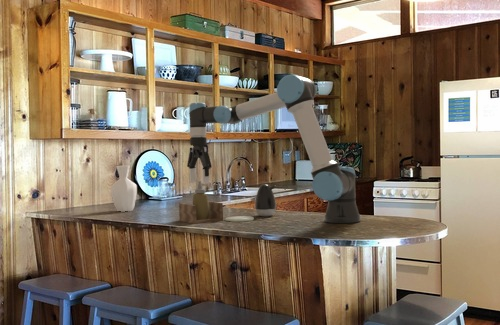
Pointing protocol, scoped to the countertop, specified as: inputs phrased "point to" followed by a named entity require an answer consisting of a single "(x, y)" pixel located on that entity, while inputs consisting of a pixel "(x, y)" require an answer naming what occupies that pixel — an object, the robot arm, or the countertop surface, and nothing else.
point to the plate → (239, 219)
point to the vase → (124, 191)
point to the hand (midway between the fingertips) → (199, 183)
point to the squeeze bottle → (201, 203)
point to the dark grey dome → (265, 201)
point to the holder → (189, 212)
